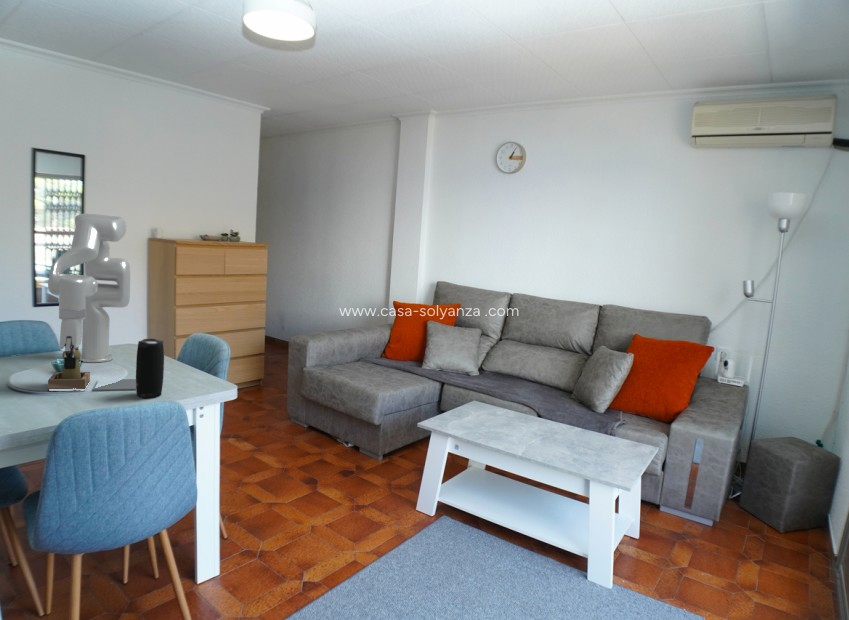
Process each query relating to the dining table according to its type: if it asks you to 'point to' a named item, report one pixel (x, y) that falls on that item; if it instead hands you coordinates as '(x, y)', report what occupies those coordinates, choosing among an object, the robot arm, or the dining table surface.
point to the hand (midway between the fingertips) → (71, 365)
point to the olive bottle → (72, 372)
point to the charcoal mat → (119, 386)
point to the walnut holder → (68, 381)
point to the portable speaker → (149, 368)
